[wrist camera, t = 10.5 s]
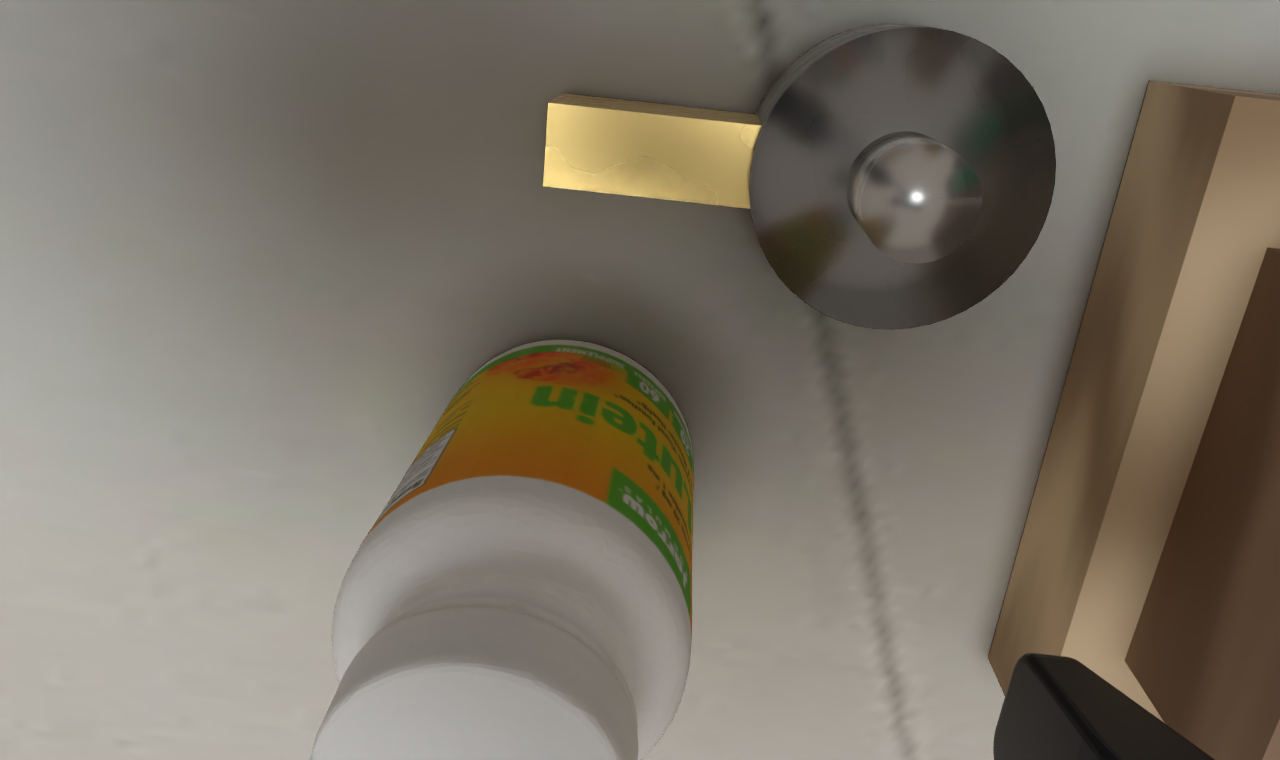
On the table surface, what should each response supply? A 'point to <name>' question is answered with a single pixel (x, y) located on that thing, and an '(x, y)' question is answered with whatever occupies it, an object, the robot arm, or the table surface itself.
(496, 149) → the table surface
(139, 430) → the table surface
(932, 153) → the door lever handle
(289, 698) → the table surface
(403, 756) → the supplement bottle
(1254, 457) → the tall brown cuboid
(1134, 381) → the peg stand
